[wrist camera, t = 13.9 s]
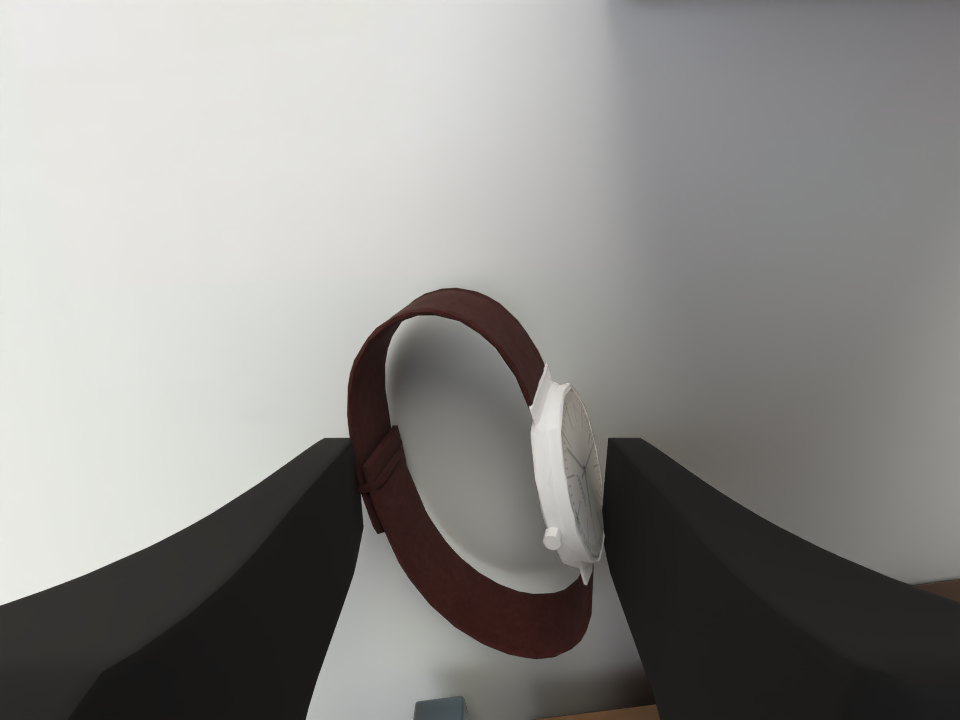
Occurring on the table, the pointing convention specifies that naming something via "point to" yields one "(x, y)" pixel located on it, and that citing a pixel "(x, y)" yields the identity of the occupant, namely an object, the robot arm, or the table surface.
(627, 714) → the drawer
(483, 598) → the watch
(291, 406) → the table surface
